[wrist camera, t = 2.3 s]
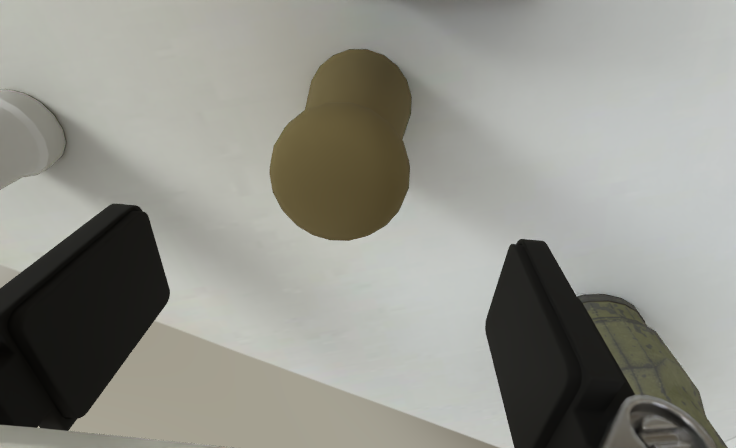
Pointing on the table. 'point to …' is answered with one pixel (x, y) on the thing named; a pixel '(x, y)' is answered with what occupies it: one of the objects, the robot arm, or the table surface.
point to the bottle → (26, 137)
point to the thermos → (645, 357)
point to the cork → (346, 149)
